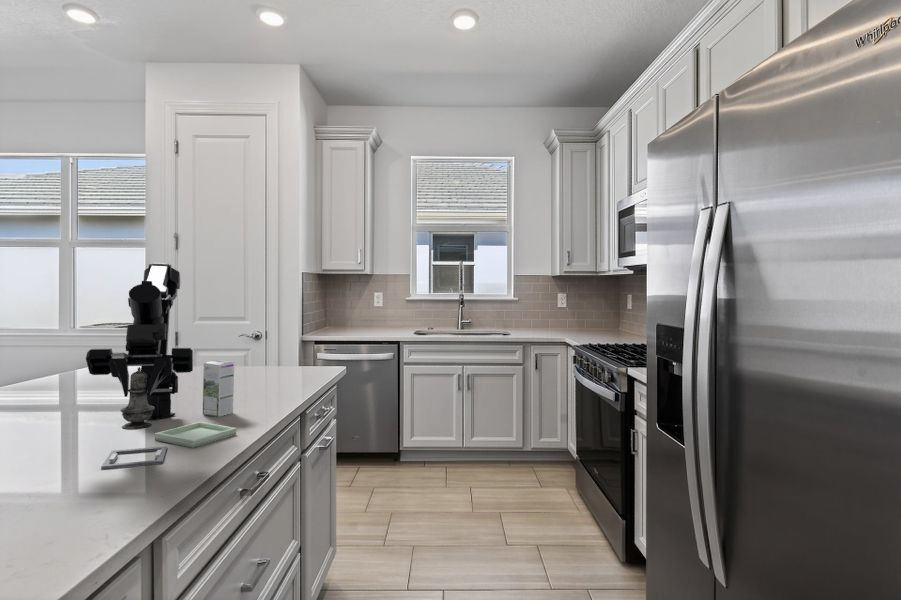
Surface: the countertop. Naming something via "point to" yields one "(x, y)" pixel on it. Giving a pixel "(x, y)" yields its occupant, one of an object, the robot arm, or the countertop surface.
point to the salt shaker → (137, 403)
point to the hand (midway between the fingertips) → (137, 395)
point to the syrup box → (218, 388)
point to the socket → (114, 454)
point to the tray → (195, 434)
